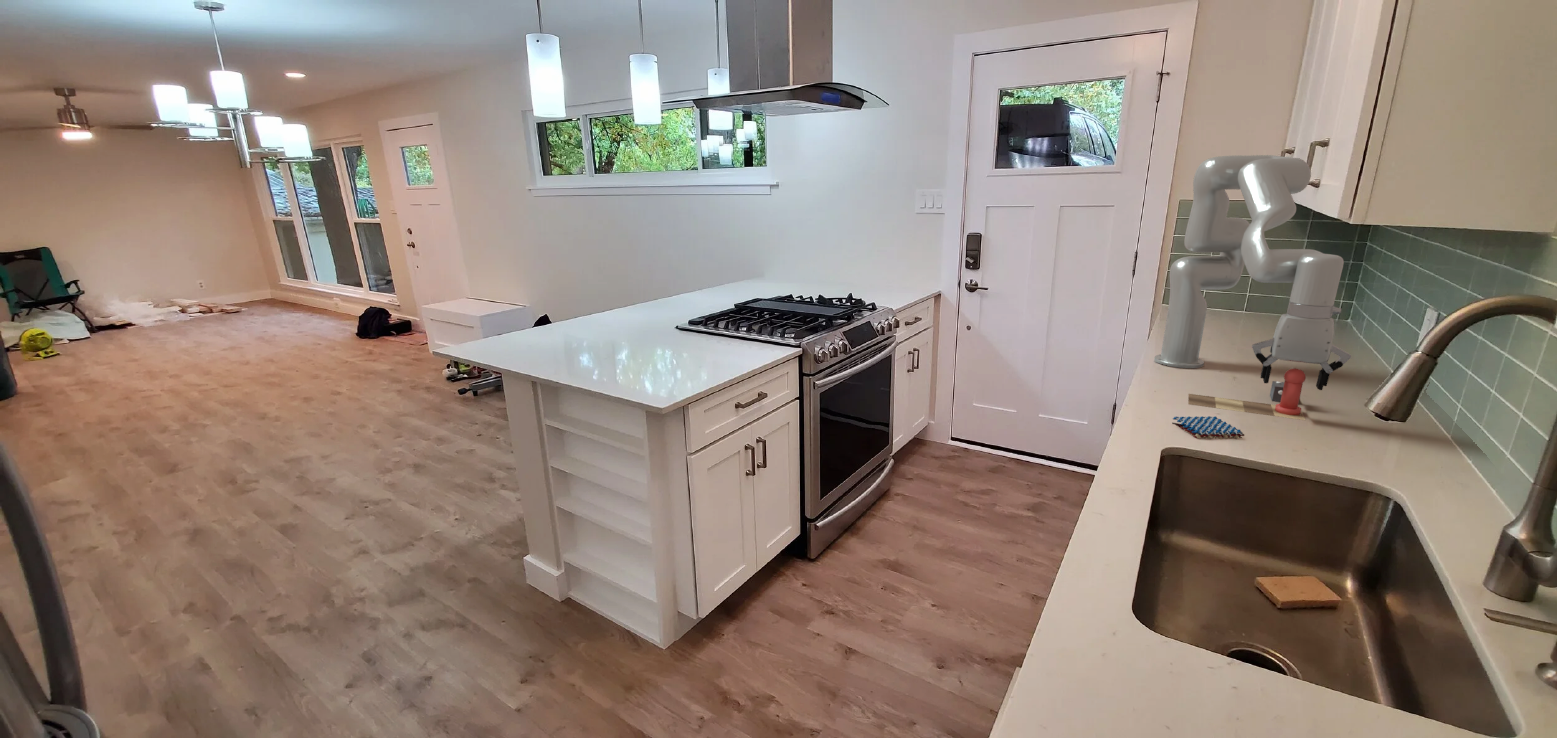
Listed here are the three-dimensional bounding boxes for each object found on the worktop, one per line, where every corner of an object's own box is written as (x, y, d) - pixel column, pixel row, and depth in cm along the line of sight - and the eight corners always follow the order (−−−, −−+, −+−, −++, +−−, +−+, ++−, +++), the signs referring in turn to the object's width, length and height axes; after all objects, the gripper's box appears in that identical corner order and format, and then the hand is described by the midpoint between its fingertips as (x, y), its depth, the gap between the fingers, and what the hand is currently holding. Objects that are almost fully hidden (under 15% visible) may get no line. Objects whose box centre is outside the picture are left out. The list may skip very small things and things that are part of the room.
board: (1187, 398, 158) (1188, 393, 158) (1298, 412, 147) (1300, 408, 147) (1187, 408, 151) (1188, 404, 151) (1304, 425, 140) (1305, 420, 139)
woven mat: (1246, 441, 133) (1248, 432, 133) (1195, 441, 134) (1196, 432, 133) (1215, 423, 143) (1216, 414, 143) (1167, 423, 144) (1168, 415, 143)
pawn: (1273, 407, 148) (1282, 365, 145) (1298, 410, 145) (1308, 367, 142) (1275, 413, 144) (1284, 370, 141) (1301, 416, 141) (1311, 372, 139)
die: (1268, 400, 156) (1272, 380, 155) (1294, 403, 154) (1298, 383, 152) (1270, 406, 152) (1275, 386, 150) (1297, 409, 149) (1301, 389, 148)
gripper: (1357, 311, 137) (1338, 386, 142) (1258, 304, 145) (1244, 375, 151) (1365, 318, 131) (1344, 396, 136) (1261, 310, 139) (1246, 383, 145)
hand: (1291, 384), depth 143 cm, fingers open, 9 cm apart
